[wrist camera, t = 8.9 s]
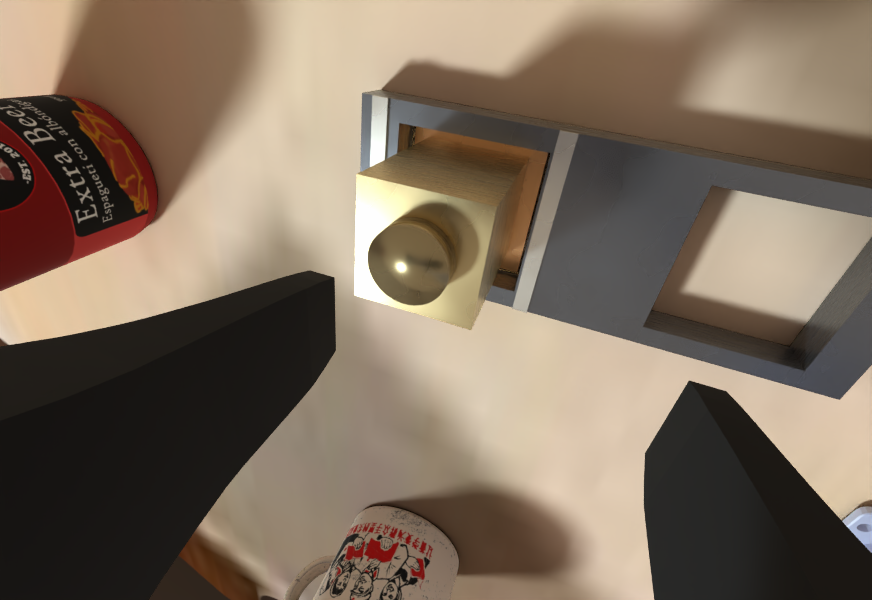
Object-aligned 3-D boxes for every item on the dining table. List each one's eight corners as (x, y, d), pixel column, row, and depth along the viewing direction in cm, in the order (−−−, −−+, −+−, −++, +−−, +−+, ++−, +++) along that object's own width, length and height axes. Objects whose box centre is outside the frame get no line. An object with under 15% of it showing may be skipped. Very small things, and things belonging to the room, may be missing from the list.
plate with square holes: (821, 373, 16) (840, 401, 15) (373, 250, 20) (357, 264, 19) (969, 198, 12) (1012, 215, 11) (380, 89, 16) (361, 93, 15)
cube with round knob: (506, 253, 18) (464, 345, 12) (419, 230, 19) (342, 307, 13) (529, 157, 16) (490, 217, 10) (429, 137, 16) (342, 181, 11)
